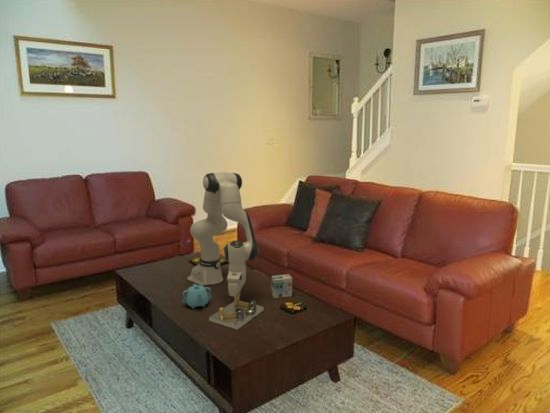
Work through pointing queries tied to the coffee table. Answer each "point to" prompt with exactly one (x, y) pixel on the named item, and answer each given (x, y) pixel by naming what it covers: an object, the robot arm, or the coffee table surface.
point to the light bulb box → (281, 286)
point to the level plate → (236, 321)
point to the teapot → (197, 296)
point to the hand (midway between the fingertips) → (238, 296)
